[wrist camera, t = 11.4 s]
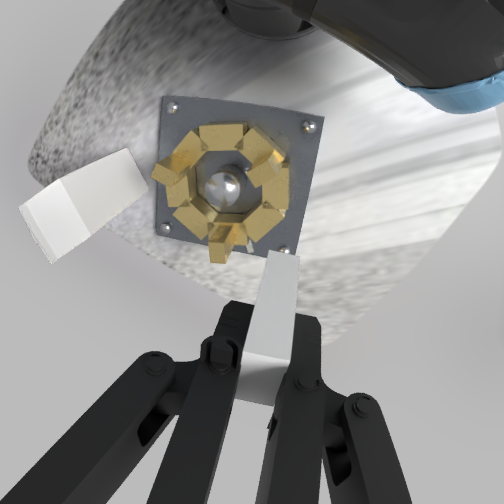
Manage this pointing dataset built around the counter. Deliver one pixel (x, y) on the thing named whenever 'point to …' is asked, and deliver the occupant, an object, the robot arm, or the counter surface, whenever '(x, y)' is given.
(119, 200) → the milk carton
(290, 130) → the flange plate
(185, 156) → the gold foil sensor mount
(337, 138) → the counter surface
